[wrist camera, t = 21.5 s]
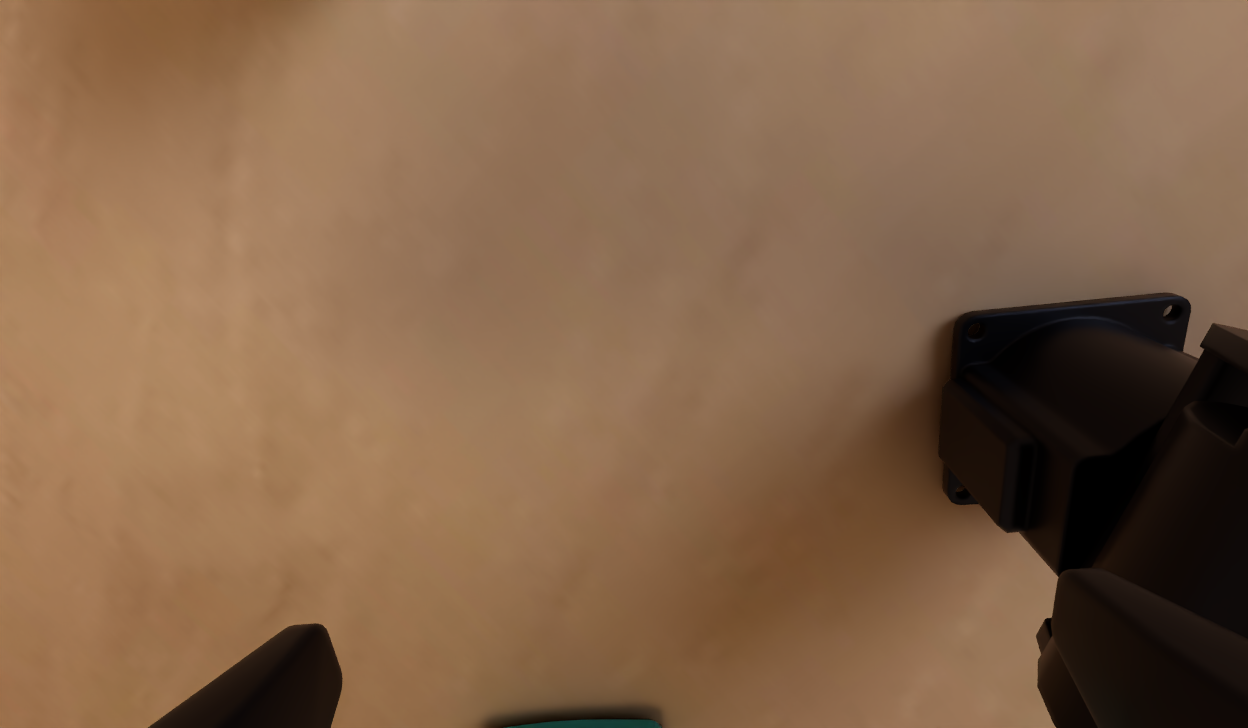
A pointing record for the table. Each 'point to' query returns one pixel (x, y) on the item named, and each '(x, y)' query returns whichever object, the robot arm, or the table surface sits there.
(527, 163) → the table surface
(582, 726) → the digital multimeter
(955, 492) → the robot arm
